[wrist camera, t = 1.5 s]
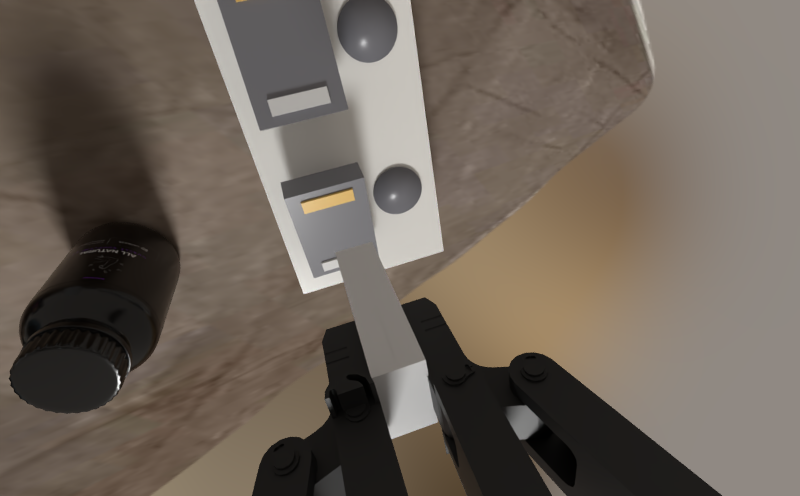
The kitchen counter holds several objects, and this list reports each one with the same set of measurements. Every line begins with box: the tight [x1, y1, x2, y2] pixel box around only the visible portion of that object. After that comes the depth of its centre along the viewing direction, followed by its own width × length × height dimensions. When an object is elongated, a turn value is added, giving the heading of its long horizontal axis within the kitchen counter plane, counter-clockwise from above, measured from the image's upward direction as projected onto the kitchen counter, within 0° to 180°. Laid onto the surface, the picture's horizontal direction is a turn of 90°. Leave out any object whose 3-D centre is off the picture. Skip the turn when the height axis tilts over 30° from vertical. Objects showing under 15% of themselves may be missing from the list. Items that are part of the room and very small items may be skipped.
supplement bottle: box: [9, 223, 180, 414], centre depth 26 cm, size 7×7×12 cm
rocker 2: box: [280, 162, 379, 278], centre depth 27 cm, size 5×7×2 cm, turn 10°
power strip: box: [194, 0, 443, 294], centre depth 25 cm, size 11×32×6 cm, turn 10°
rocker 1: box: [217, 0, 348, 131], centre depth 21 cm, size 5×7×2 cm, turn 10°
